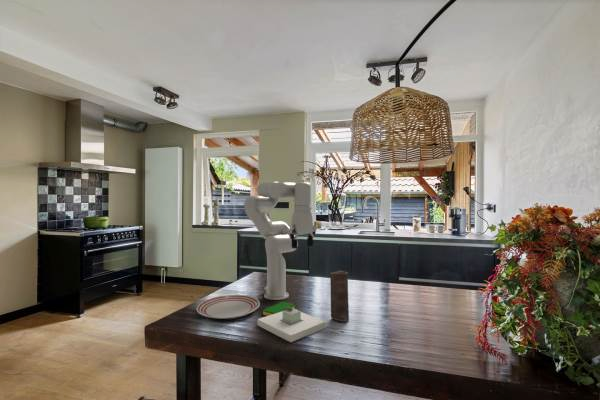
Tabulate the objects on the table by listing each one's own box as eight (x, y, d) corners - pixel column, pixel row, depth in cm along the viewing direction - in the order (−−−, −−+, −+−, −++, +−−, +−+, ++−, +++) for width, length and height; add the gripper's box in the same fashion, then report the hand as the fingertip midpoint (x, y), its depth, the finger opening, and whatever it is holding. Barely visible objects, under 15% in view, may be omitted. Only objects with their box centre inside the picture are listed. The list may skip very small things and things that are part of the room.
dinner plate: (254, 324, 123) (254, 316, 123) (186, 323, 124) (186, 315, 124) (263, 301, 151) (263, 294, 151) (208, 301, 151) (208, 294, 151)
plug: (281, 325, 121) (281, 307, 121) (291, 321, 124) (291, 304, 124) (291, 329, 117) (291, 311, 117) (300, 325, 120) (300, 308, 120)
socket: (257, 325, 121) (257, 317, 121) (291, 313, 134) (291, 306, 134) (290, 342, 107) (290, 333, 107) (325, 327, 119) (325, 319, 119)
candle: (334, 324, 122) (334, 274, 122) (327, 317, 129) (327, 270, 129) (351, 322, 124) (351, 272, 124) (344, 315, 131) (344, 268, 131)
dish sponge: (294, 309, 140) (294, 304, 140) (275, 319, 129) (275, 313, 129) (282, 306, 144) (282, 301, 144) (262, 315, 133) (262, 309, 133)
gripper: (310, 208, 148) (310, 244, 149) (282, 209, 137) (282, 248, 137) (321, 209, 143) (321, 246, 143) (293, 210, 131) (293, 250, 131)
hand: (302, 246), depth 140 cm, fingers open, 9 cm apart
